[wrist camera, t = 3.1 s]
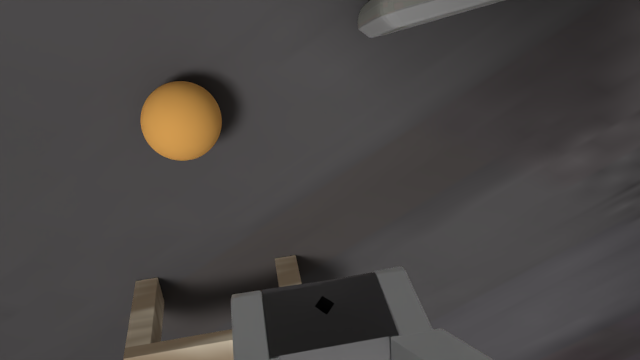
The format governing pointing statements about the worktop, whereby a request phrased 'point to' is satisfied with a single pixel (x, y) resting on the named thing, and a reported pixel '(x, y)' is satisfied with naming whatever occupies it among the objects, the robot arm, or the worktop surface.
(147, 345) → the bridge
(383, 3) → the digital clock
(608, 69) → the worktop surface
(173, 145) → the ball
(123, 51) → the worktop surface
